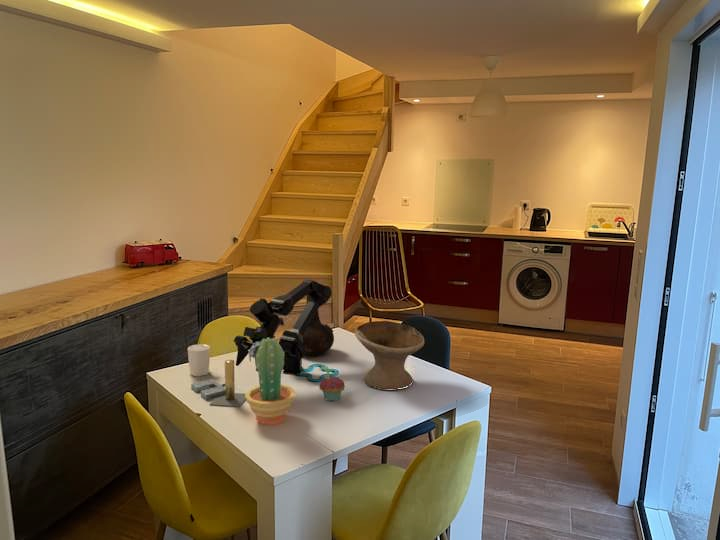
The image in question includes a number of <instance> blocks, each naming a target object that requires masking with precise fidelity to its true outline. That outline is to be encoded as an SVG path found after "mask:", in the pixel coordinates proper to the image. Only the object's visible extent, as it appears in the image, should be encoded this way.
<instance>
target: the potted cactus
mask: <svg viewBox="0 0 720 540" xmlns="http://www.w3.org/2000/svg"><path fill="white" fill-rule="evenodd" d="M248 351H249V353H248V357H249V358H248V360H249V362H252V358H253V359H254V363H255V365H254V366H255V369H256V368H257V371H258V372H257V371H256V372H257V373H258V383H259V385H258V386H254V387H252V388H250V389H248V390H247V391H246V392H245V393H244V394H245V399H246V400H245V402H246V403H248V405H249V407H250V410H251V412H252V413H254V415H255V416H256V418H255V420H256V422H257V423H258V424H261V425H269V426H270V425H276V424H281V423H282V422H284V421H285V419H286V414H287V413H288V411H289V410H290V407H291V404H292V402H294V400H295V397H296V390H295V389H293V388H292V387H291V386H288V385H284V384H281V383H282V373H283V371H284V370H283V367H284V356H285V355H284V351H283V349H282V347H281V346H280V344H279V341H278V340H277V339H276V337H275V338H272V339H270V338H269V337H267V339H262V340H261V341H260V342H256V343H254V344H253V346H252V347H251V348H250V350H248Z"/></svg>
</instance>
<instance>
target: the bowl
mask: <svg viewBox="0 0 720 540" xmlns="http://www.w3.org/2000/svg"><path fill="white" fill-rule="evenodd" d="M354 336H355V338H356V339H357V340H358V342H360V343H361V345H362V346H363V347H364V348H365V349H366V350H367V351H368V352H370V353H371V354H372V355H373V359H374V365H373V366H372V368H370V369H369V370H368V371H367V373H366V374H365V375H364V377H363V381H364V383H365V384H366V385H367V384H368V385H370V386H372V387H371V388H373V387H376V388H380V389H379V390H381V389H398V388H403V387H406V386H409V385H410V384H411V383H412V381H413V382H414V380H413V377H412V376H411V374H410V373H409V372H408V370H406V368H405V363H406V360H407V359H408V357H409V356H411V355H412V354H414V353H417V352H418V351H419V350H421V349H422V348H423V347H424V345H425V338H424V335H422V333H421V332H420V331H418V330H416V328H415V327H413V326H409V325H408V324H407V325H406V324H404V323H403V324H402V323H399V322H395V321H389V320H381V321H378V320H377V321H368V322H365V323H363V324H361V325H358V326H357V327H356V329H355V331H354ZM412 384H413V383H412ZM368 385H367V386H368ZM370 386H369V387H370ZM376 388H375V389H376Z"/></svg>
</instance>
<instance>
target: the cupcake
mask: <svg viewBox="0 0 720 540" xmlns="http://www.w3.org/2000/svg"><path fill="white" fill-rule="evenodd" d="M326 376H327V377H325V378H323V379H321V381H320V382H319V387H318V388H319V390H321V391H322V394H323V397H324V399H325V400H326V399H327V400H326V401H328V400H336V401H338V400H339V399H340V395H341V393H342V391H344V390H345V388H346V384H345V382H344V380H343V379H341V378H340V377H337V376H330V369H329V366H328V365H327V364H326ZM337 399H338V400H337Z"/></svg>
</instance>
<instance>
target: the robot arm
mask: <svg viewBox="0 0 720 540" xmlns="http://www.w3.org/2000/svg"><path fill="white" fill-rule="evenodd" d="M332 292H333V291H332V289H331V287H330V286H329V285H325V284H321V283H319V282H318V281H316V280H313V279H304V280H303V281H302V282H301V283H300V284H299V285H297V286H296V287H294V288H293V289H291V290H289V292H287V293H286V294H283V295H279V296H276V297H273V298H272V299H271V300H270V301H269V302H268V301H267V300H266V298H263V297H262V298H260V299H259V300H257V301H255V302H254V303H253V304H251V306H250V307H249V312H250V314H252V316H253V317H255V319H256V320H257V321H258V322H259V323H261V324H260V326H257V327H255V328H253V327H249V326H245V327H244V331H243V335H236V336H235V337H234V339H233V342H234V343H235V346H236V347H237V354H236V360H235V366H237V367H239V366H240V365H241V364H242V363H243V361H244V360H245V358H246V357H247V356H249V350H250V348H251V347H252V346H253V344H254V343H256V342H260V341H261V340H262V339H267V337H269V338H270V339H272V338H275V339H276V336H275V334H276V331H277V330H278V328H279V327H280V326H284V325H285V322H284V318H283V317H280V316H284V317H285V316H288V315H289V314H291V312H292V311H293V310H294V309H295V308H294V306H295V305H296V304H297V303H299V302H300V301H301V300H302V299H304V298H306V297H307V295H308V297H309V301H308V303H307V304H306V303H305V306H304V307H303V309H302V311H301V313H300V315H299V316H298V318H297V319H296V322H295V323H294V325H293V327H292V329H290V330H284V331H283V333H282V334H281V336H280V337H279V338H278V339H279V340H278V343H279V344H280V346H281V347H282V349H283V351H284V367H283V370H282V373H283V374H294V375H295V374H296V375H298V374H297V373H300V374H301V372H302V371H303V369H304V367H303V358H304V357H305V356H307V355H306V350H305V348H304V347H303V346H302V345H303V335H304V333H305V331H306V330H307V328H308V326H309V324H310V323H311V321H312V319H313V317H314V316H315V314H316V312H317V310H318V311H319V309H320V307H322V306H324V305H325V304H326V303H327V302H328V301H329V300H330V299H331V297H332V294H333V293H332ZM247 337H248V338H247ZM301 370H302V371H301ZM255 371H256V372H257V373H258V371H257V368H256V367H255Z"/></svg>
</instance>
